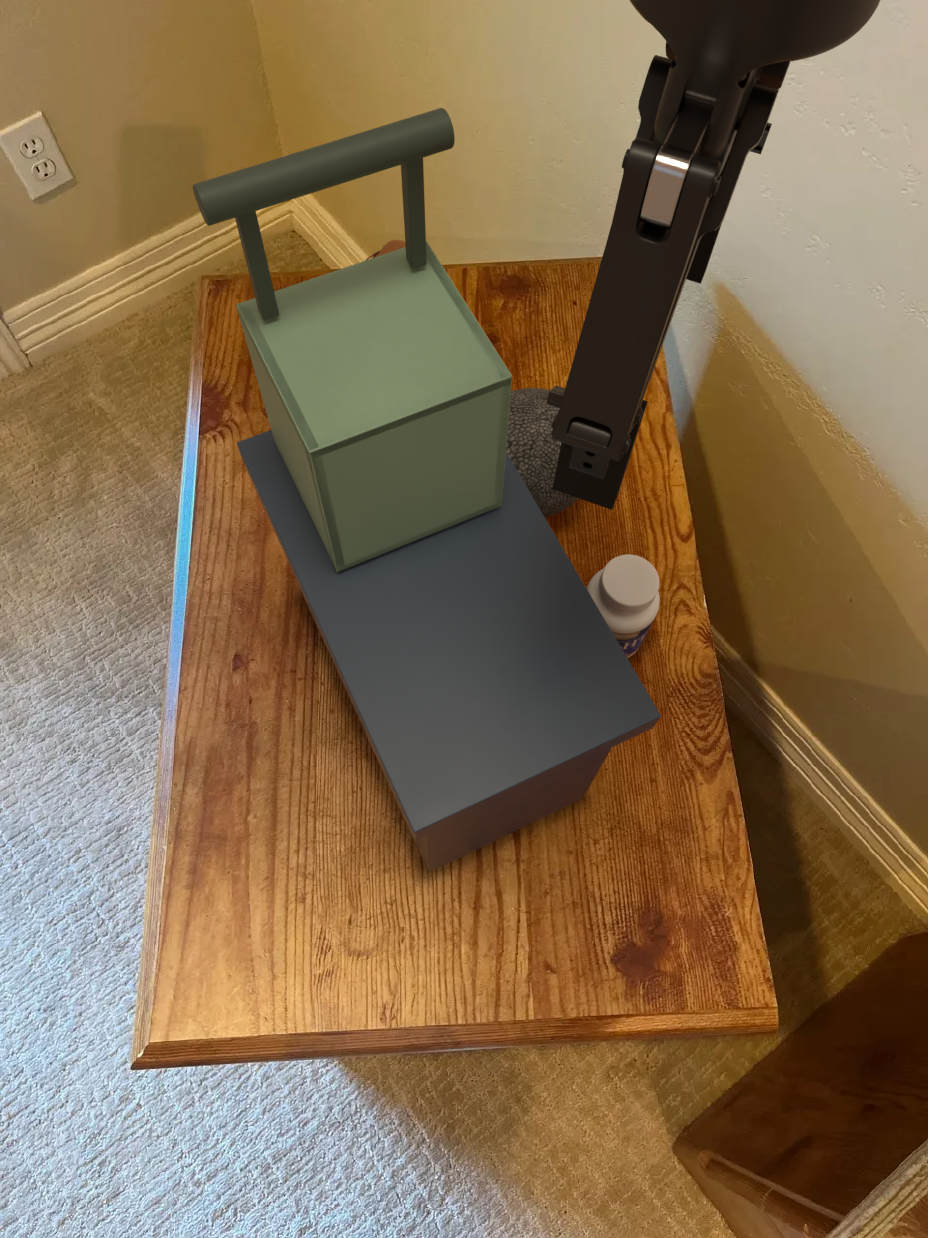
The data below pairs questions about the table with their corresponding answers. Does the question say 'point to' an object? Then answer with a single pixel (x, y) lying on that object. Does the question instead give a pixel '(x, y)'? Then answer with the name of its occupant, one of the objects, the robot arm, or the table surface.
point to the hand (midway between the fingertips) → (633, 375)
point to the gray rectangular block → (466, 663)
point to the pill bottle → (627, 598)
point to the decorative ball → (536, 448)
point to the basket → (371, 358)
